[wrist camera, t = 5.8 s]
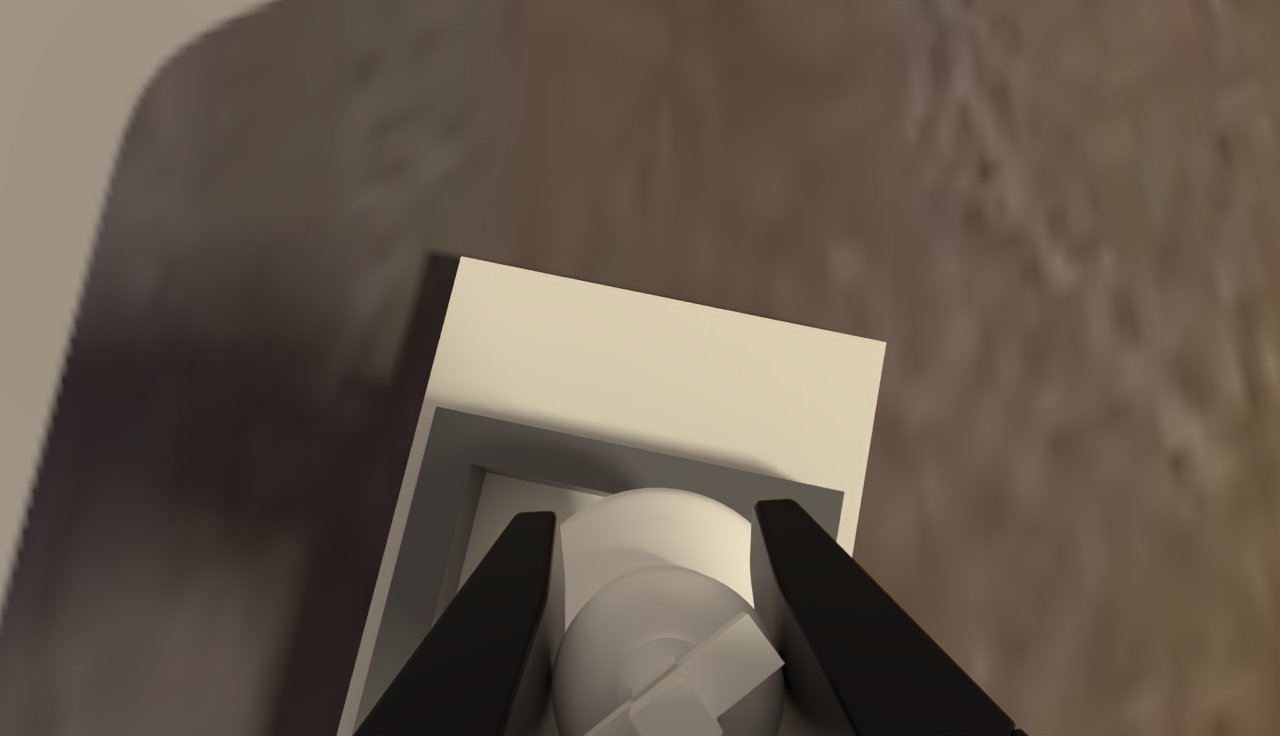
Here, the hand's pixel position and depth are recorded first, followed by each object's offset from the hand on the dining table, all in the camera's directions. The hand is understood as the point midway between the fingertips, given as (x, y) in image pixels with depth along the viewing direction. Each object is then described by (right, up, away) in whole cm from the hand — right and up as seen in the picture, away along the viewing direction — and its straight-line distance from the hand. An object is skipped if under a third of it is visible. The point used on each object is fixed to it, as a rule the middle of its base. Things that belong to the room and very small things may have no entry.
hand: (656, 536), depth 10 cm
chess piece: (0, -3, +6) cm, 7 cm away
